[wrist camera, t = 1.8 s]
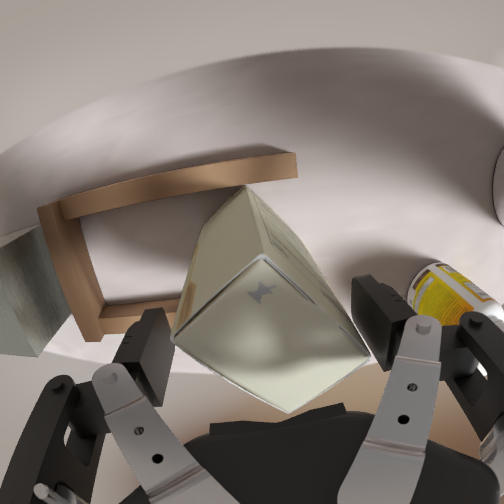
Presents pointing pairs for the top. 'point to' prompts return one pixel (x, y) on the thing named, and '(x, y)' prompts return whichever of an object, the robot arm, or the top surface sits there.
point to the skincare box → (264, 309)
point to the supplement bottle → (450, 297)
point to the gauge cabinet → (28, 294)
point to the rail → (123, 194)
